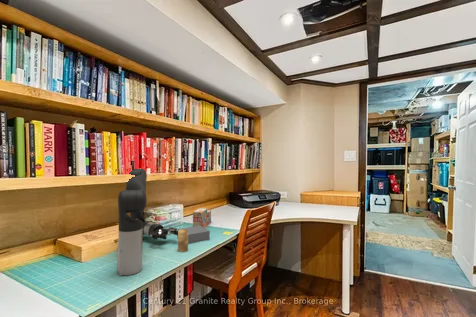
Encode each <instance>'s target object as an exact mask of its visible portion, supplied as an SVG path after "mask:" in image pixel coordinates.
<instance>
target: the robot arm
mask: <svg viewBox="0 0 476 317" xmlns="http://www.w3.org/2000/svg"><path fill="white" fill-rule="evenodd" d="M133 169H134V170H132V171H131V172H130V173H129V174H131V175H135V177H132V178H131V179H129V181H128V182H126V181H125V183H126V185H125V190H120V191H119V193H118V196H117V197H118V198H117V208H118V209H117V210H118V244H117V245H118V247H117V249H116V250H117V251H116V252H117V254H116V260H117V263H116V270H117V273H118V275H119V277H120V276H132V275H135V274H138V273H140V272H141V271H142V270H143V265H144V264H143V254H144V253H143V250H144V249H143V248H144V246H143V236H144V235H145V236H147V237H149V238H150V239H152V240H158V239H159V240H160V239H161V240H167V236H171V235H174V236H178V228H177V227H176V228H175V227H170V226H169V227H168V228H166V227H164V226H163V225H162V224H158V223H154V222H148V221H146V219H145V216H144V212H143V211H144V210H145V209H146V207H147V202H148V201H147V200H148V198H147V193H146V192H147V191H146V190H147V179H148V174H147V171H146V170H145V168H133Z"/></svg>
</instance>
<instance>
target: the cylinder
mask: <svg viewBox="0 0 476 317" xmlns="http://www.w3.org/2000/svg"><path fill="white" fill-rule="evenodd" d="M179 229H180V230H178V229H177V231H178V235H177V236H178V238H177V251H178V252H180V253H184V252H188V250H189V244H188V230H187V229H181V228H179Z"/></svg>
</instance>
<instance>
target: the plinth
mask: <svg viewBox="0 0 476 317" xmlns="http://www.w3.org/2000/svg"><path fill="white" fill-rule="evenodd" d="M180 229H187V230H188V245H189V244H195V243H198V242H199V243H200V242H204V241H205V242H206V241H210V239H211V237H210V233H211V232H210V231H211V230H210V229H209V230H208V229H207V228H203V227H201V226H193V225H192V226H188V227H182V228H177V231H178V230H180ZM176 236H177V239H178V235H176Z"/></svg>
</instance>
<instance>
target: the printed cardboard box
mask: <svg viewBox="0 0 476 317" xmlns="http://www.w3.org/2000/svg"><path fill="white" fill-rule="evenodd" d="M211 223H212V210H211V209H208V208H203V207H202V208H201V207H200V208H197V209H196V210H194V211H192V227H193V226H201V227H203V228H205V227H206V228H207V227H208V226H209V225H210V224H211ZM207 225H208V226H207ZM206 228H205V229H206Z"/></svg>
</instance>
